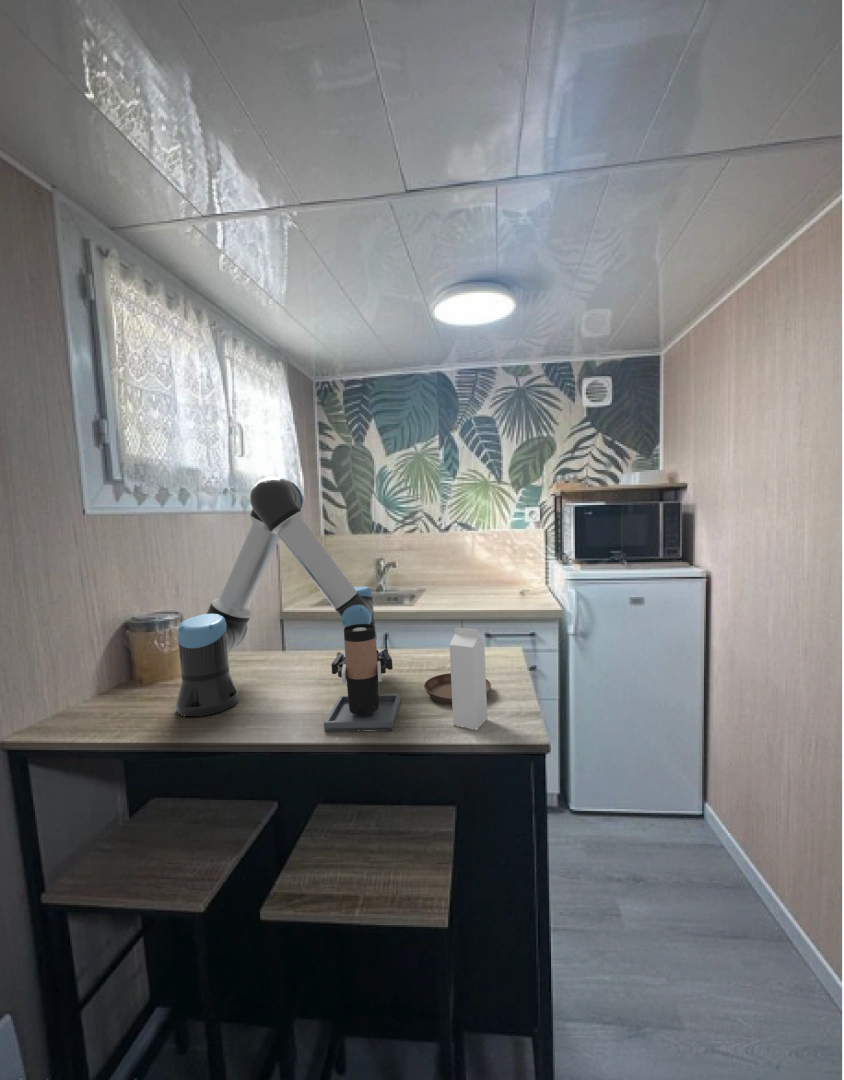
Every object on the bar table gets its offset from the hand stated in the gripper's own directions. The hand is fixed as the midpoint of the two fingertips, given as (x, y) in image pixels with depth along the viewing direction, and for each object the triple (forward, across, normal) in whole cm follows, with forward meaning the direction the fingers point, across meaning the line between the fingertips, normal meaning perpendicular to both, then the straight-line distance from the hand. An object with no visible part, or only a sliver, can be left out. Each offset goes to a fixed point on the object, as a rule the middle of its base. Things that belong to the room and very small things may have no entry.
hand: (361, 677), depth 112 cm
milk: (+4, -24, -12) cm, 27 cm away
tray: (-5, 0, -12) cm, 12 cm away
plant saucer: (-13, -24, -12) cm, 30 cm away
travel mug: (-5, 0, -10) cm, 11 cm away
